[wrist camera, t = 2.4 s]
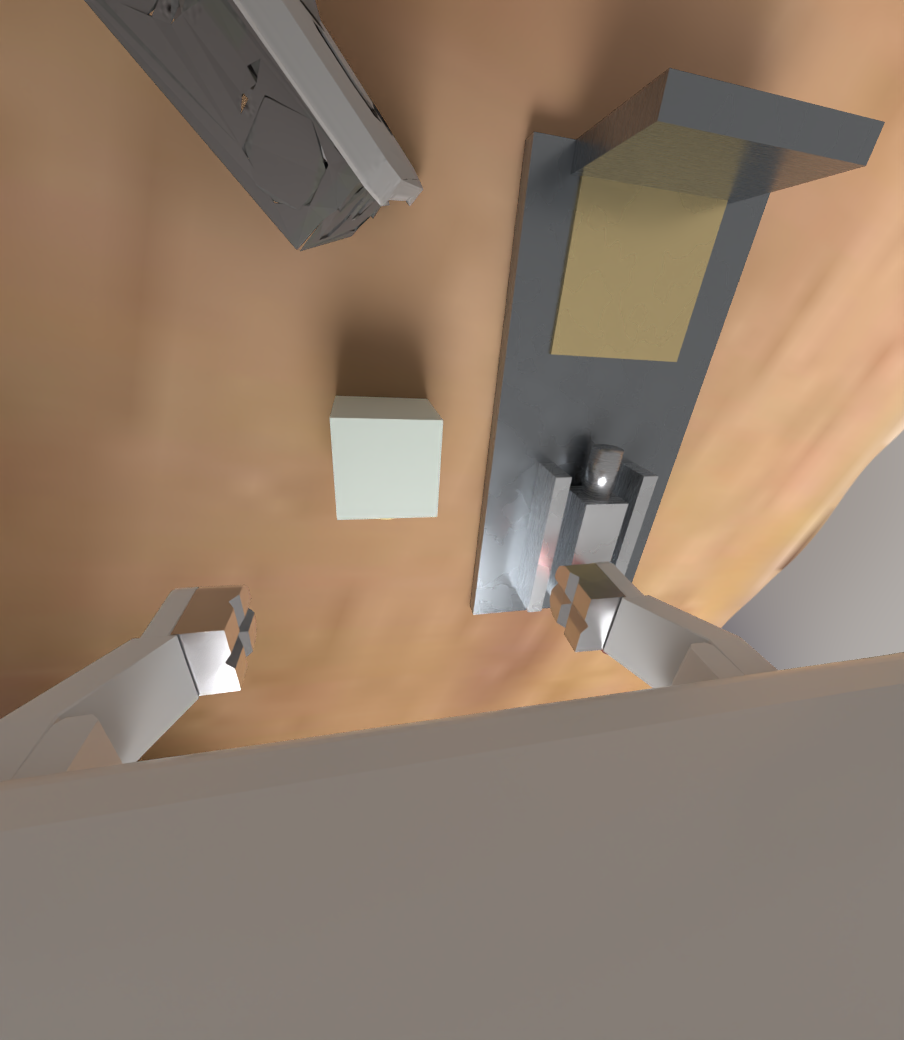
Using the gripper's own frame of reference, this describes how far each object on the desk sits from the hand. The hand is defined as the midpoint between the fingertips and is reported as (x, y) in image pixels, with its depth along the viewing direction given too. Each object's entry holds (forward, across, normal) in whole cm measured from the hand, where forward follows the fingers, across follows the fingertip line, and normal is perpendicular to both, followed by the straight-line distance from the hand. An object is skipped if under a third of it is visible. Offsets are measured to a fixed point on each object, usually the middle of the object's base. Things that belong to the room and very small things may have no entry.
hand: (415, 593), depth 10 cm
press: (+14, +13, 0) cm, 19 cm away
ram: (+13, +13, -5) cm, 19 cm away
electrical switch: (+15, -3, +13) cm, 20 cm away
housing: (+14, 0, 0) cm, 14 cm away
